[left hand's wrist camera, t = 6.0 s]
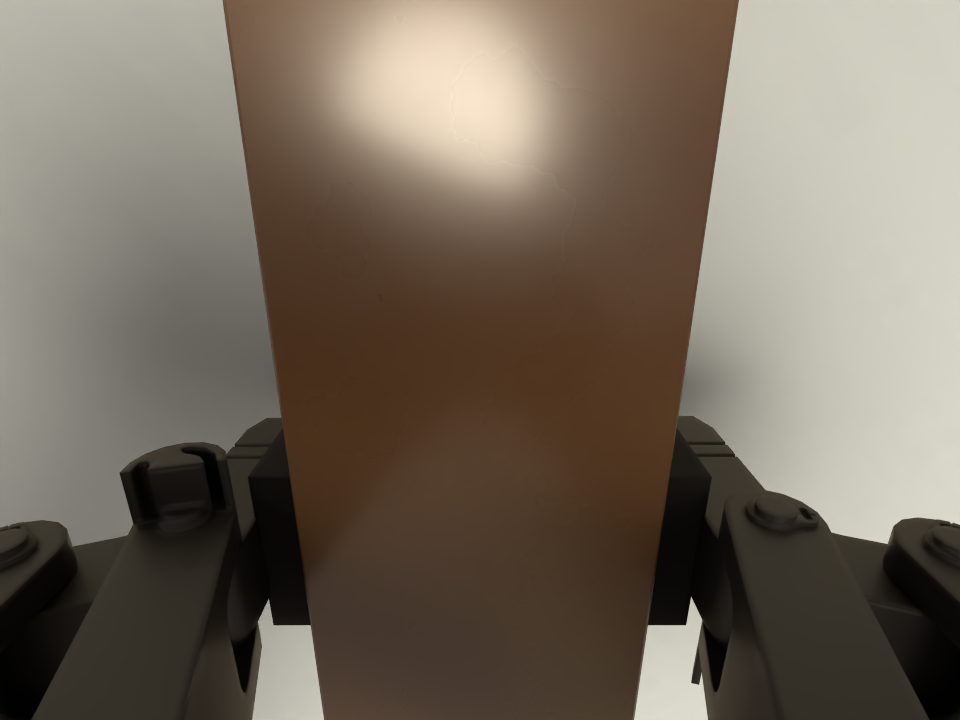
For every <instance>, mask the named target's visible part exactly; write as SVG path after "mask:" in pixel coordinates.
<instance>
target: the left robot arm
mask: <svg viewBox="0 0 960 720" xmlns="http://www.w3.org/2000/svg"><path fill="white" fill-rule="evenodd" d="M120 476H121V480H122V483H123V487H124V491H125V494H126V498H127V502H128V505H129V509H130V513H131V517H132V520H133V526H132V528H131V530H130V532H129V534H128V535H127V536H123V537H119V538H115V539H110V540H105V541H99V542H94V543H89V544H84V545H79V546H74V547H72V544H71V540H70V537H69V534H68V531H67V529H66V528H65V527H64V526H62V525H61V524H60V523H58V522H52V521H44V520H41V521H32V522H21V523H16V524H12V525H10V526H5V527H2V528H0V720H252V716H253V708H254V701H255V693H256V686H257V678H258V671H259V663H260V656H261V649H262V644H261V637H260V631H259V625H258V620H259V618H260V616H261V614H262V612H263V609H264V607H265V605H266V603H267V601H268V599H269V601H270V607H271V613H272V618H273V624H274V625H311V622H310V615H309V608H308V601H307V594H306V587H305V580H304V573H303V566H302V559H301V551H300V544H299V537H298V530H297V523H296V516H295V509H294V502H293V495H292V488H291V481H290V474H289V467H288V459H287V452H286V445H285V438H284V431H283V424H282V418H266V419H265V420H263V421H261V422H260V423H258V424H256V425H255V426H253V427H251V428H250V429H248V430H247V431H246V432H245V433H244V434H243V435H242V437H241V438H240V439H239V440H238V441H237V443H236V444H235V447H232V449H231V450H230V451H229V452H228V453H227V455H226V451H224V450H223V449H222V448H220V447H219V446H218V445H214V444H209V443H204V442H200V443H182V444H177V445H172V446H167V447H164V448H161V449H158V450H155V451H152V452H149V453H147V454H145V455H143V456H141V457H139V458H138V459H136V460H134V461H132V462H130V463H129V464H128V465H127V466H126V467H125V468H124V469H123V470H122V471H121V472H120ZM691 597H692V599H693V601H694V603H695V605H696V607H697V609H698V611H699V614H700V616H701V618H702V625H701V631H700V636H699V641H698V647H697V652H696V657H695V662H694V668H693V674H692V681H691V683H694V684H698V685H699V682H700V677H701V672H702V677H703V685H704V692H705V699H706V707H707V714H708V720H960V525H958V524H955V523H953V524H951V523H950V522H947V521H943V520H934V519H925V518H911V519H904V520H901V521H900V522H898V523H897V524H896V525H895V526H894V527H893V530H892V533H891V536H890V539H889V542H888V544H884V543H879V542H874V541H868V540H863V539H858V538H853V537H848V536H843V535H839V534H835V533H831V531H830V529H829V527H828V525H827V523H826V522H825V521H824V520H823V519H822V518H821V516H820V515H819V514H818V513H817V512H816V511H815V510H813V509H812V508H810V507H809V506H807V505H806V504H804V503H803V502H801V501H798V500H796V499H793V498H791V497H789V496H786V495H784V494H780V493H775V492H771V491H767V490H765V489H764V488H763V487H762V486H761V484H760V483H759V482H758V481H757V480H756V479H755V477H754V476H753V475H752V474H751V473H750V471H749V470H748V469H747V468H746V467H745V465H744V464H743V463H742V462H741V461H740V460H739V458H738V457H735V454H734V452H733V451H732V450H731V449H730V448H729V446H728V445H725V442H724V441H723V439H722V438H721V437H720V436H719V435H718V433H717V432H716V431H715V430H714V429H713V428H712V427H710V426H708V425H707V424H705V423H703V422H702V421H700V420H698V419H697V418H695V417H693V416H678V421H677V428H676V434H675V441H674V448H673V455H672V462H671V469H670V476H669V483H668V489H667V496H666V503H665V510H664V517H663V524H662V531H661V537H660V544H659V551H658V558H657V565H656V572H655V579H654V585H653V592H652V599H651V606H650V613H649V620H648V625H686V622H687V616H688V611H689V605H690V599H691Z"/></svg>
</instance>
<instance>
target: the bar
mask: <svg viewBox="0 0 960 720" xmlns="http://www.w3.org/2000/svg"><path fill="white" fill-rule="evenodd" d="M738 2H739V0H223V6H224V14H225V21H226V28H227V35H228V42H229V49H230V56H231V63H232V70H233V77H234V84H235V91H236V98H237V106H238V113H239V120H240V127H241V134H242V141H243V148H244V155H245V162H246V169H247V176H248V183H249V190H250V198H251V205H252V212H253V219H254V226H255V233H256V240H257V247H258V254H259V261H260V268H261V275H262V282H263V290H264V297H265V304H266V311H267V318H268V325H269V332H270V339H271V346H272V353H273V360H274V367H275V375H276V382H277V389H278V396H279V403H280V410H281V417H282V424H283V431H284V438H285V445H286V452H287V459H288V467H289V474H290V481H291V488H292V495H293V502H294V509H295V516H296V523H297V530H298V537H299V544H300V551H301V559H302V566H303V573H304V580H305V587H306V594H307V601H308V608H309V615H310V622H311V629H312V636H313V643H314V651H315V658H316V665H317V672H318V679H319V686H320V693H321V700H322V707H323V714H324V720H634V716H635V709H636V702H637V695H638V688H639V682H640V675H641V668H642V661H643V654H644V647H645V640H646V634H647V627H648V620H649V613H650V606H651V599H652V592H653V585H654V579H655V572H656V565H657V558H658V551H659V544H660V537H661V531H662V524H663V517H664V510H665V503H666V496H667V489H668V483H669V476H670V469H671V462H672V455H673V448H674V441H675V434H676V428H677V421H678V414H679V407H680V400H681V393H682V386H683V380H684V373H685V366H686V359H687V352H688V345H689V338H690V332H691V325H692V318H693V311H694V304H695V297H696V290H697V283H698V277H699V270H700V263H701V256H702V249H703V242H704V235H705V229H706V222H707V215H708V208H709V201H710V194H711V187H712V181H713V174H714V167H715V160H716V153H717V146H718V139H719V132H720V126H721V119H722V112H723V105H724V98H725V91H726V84H727V78H728V71H729V64H730V57H731V50H732V43H733V36H734V30H735V23H736V16H737V9H738Z"/></svg>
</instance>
